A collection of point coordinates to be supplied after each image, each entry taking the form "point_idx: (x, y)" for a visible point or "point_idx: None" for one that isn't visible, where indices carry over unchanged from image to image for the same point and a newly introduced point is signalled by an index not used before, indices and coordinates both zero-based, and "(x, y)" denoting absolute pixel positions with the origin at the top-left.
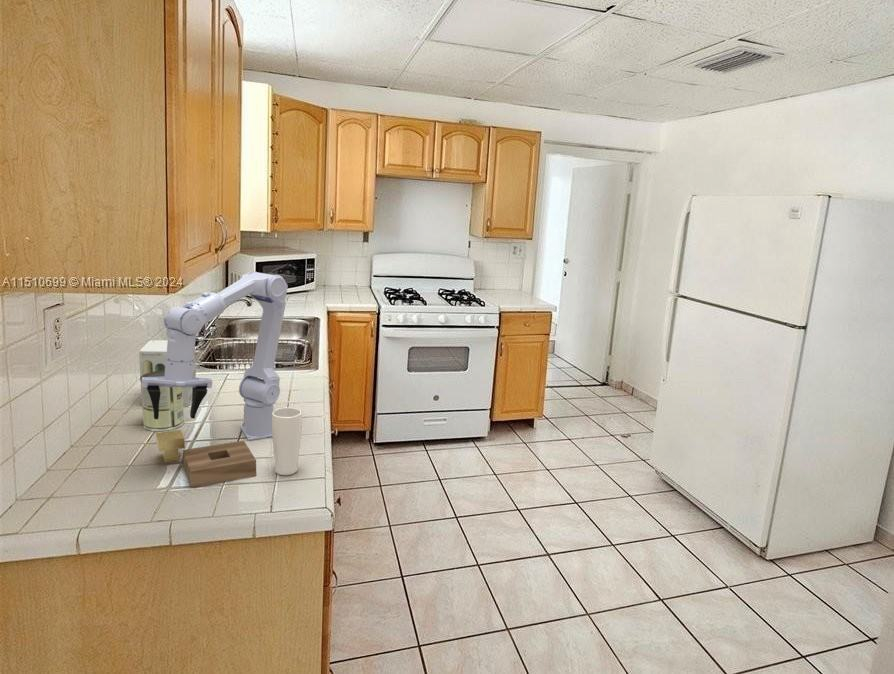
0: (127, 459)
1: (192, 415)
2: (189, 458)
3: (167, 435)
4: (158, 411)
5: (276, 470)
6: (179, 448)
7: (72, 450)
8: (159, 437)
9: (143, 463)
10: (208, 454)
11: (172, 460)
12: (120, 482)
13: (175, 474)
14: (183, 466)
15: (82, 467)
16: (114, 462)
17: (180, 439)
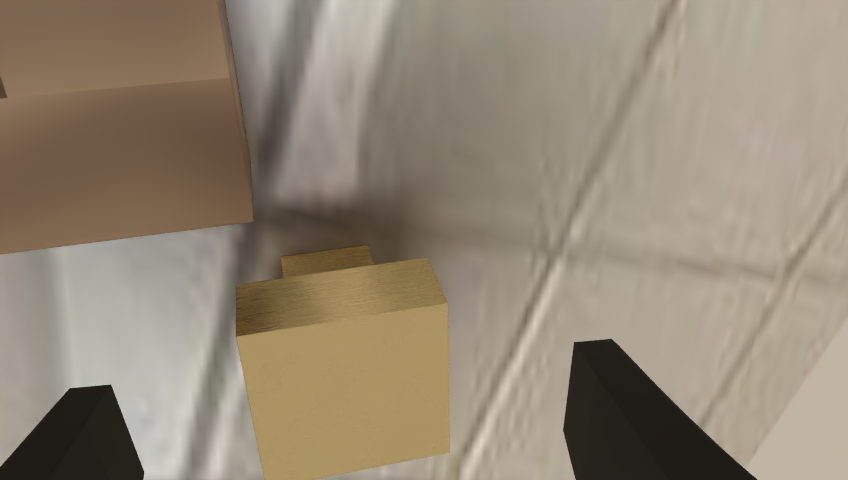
0: (560, 327)
1: (85, 414)
2: (186, 22)
3: (371, 405)
4: (629, 416)
5: None
6: (277, 280)
7: (751, 457)
8: (431, 381)
9: (488, 259)
10: (4, 93)
11: (321, 253)
12: (643, 31)
13: (305, 32)
14: (247, 144)
15: (761, 283)
16: (623, 305)
17: (270, 326)
